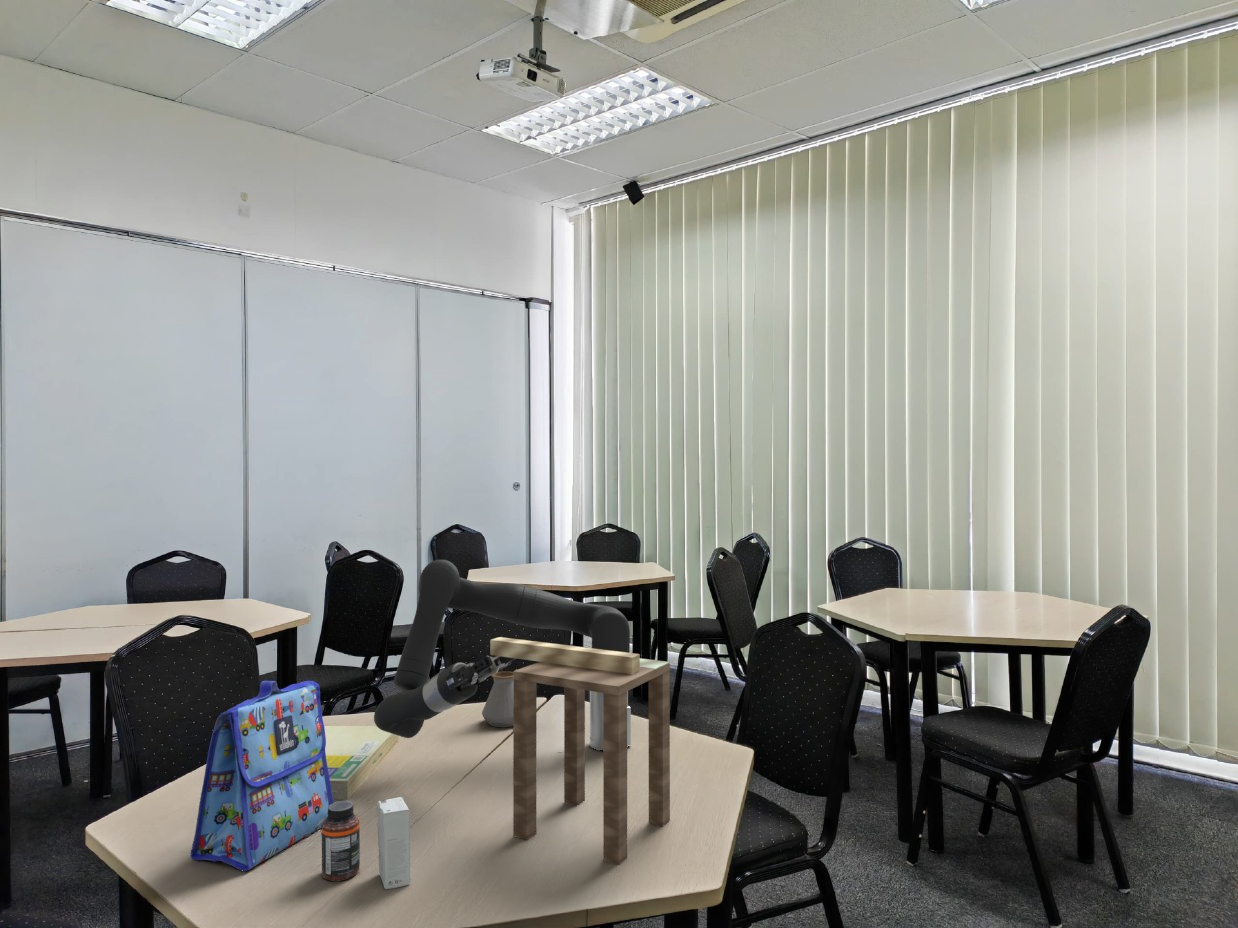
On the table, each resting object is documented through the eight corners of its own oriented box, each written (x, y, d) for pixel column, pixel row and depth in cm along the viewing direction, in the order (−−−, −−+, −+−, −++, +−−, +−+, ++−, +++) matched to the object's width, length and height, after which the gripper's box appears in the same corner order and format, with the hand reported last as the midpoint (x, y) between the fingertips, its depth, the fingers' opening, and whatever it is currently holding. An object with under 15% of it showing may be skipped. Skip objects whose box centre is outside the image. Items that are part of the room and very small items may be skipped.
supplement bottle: (327, 865, 135) (327, 798, 136) (363, 864, 136) (363, 796, 136) (316, 883, 129) (317, 812, 130) (354, 881, 130) (354, 811, 130)
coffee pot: (481, 730, 207) (481, 672, 207) (482, 717, 218) (482, 661, 218) (564, 726, 210) (564, 669, 210) (560, 713, 222) (560, 659, 222)
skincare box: (411, 884, 129) (411, 808, 129) (383, 890, 127) (383, 813, 127) (404, 867, 135) (404, 795, 135) (376, 873, 133) (376, 799, 133)
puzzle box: (400, 744, 199) (304, 742, 199) (400, 725, 199) (304, 723, 199) (346, 803, 163) (229, 801, 163) (346, 781, 163) (229, 779, 163)
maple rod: (490, 654, 160) (490, 639, 160) (499, 651, 163) (499, 637, 163) (632, 674, 144) (632, 657, 144) (639, 670, 147) (639, 654, 147)
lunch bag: (249, 874, 133) (250, 698, 133) (187, 860, 137) (189, 691, 138) (338, 820, 153) (338, 669, 153) (281, 810, 158) (282, 663, 158)
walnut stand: (513, 836, 146) (513, 670, 147) (572, 797, 164) (572, 649, 164) (618, 864, 136) (618, 686, 136) (669, 820, 153) (669, 661, 153)
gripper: (418, 678, 162) (473, 644, 155) (465, 663, 174) (517, 632, 167) (433, 713, 160) (488, 681, 153) (479, 696, 172) (532, 665, 165)
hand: (503, 655), depth 160 cm, fingers open, 8 cm apart
